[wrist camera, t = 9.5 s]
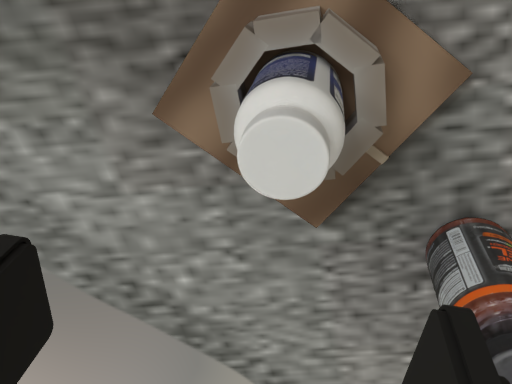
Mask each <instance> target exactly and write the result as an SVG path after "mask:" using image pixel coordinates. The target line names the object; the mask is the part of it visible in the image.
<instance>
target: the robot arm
mask: <svg viewBox="0 0 512 384" xmlns="http://www.w3.org/2000/svg"><path fill="white" fill-rule="evenodd" d="M52 329H53V320H52V315H51V311H50V306H49V302H48V297H47V293H46V289H45V284H44V280H43V275H42V272H41V267H40V262H39V258H38V253H37V249H36V247H35V246H34V245H32V244H31V242H30V240H29V239H28V238H25V237H19V236H12V235H6V234H2V235H0V384H17V382H18V381H19V380H20V378H21V377H22V375H23V374H24V372H25V371H26V370H27V368H28V367H29V366H30V364H31V363H32V361H33V360H34V358H35V357H36V355H37V354H38V353H39V351H40V350H41V349H42V347H43V346H44V344H45V343H46V342H47V340H48V339H49V337H50V335H51V333H52ZM402 384H510V382H509V381H508V380H507V379H506V378H505V377H503V376H500V375H498V372H497V370H496V367H495V365H494V362H493V360H492V357H491V355H490V352H489V350H488V347H487V345H486V342H485V340H484V337H483V334H482V332H481V329H480V327H479V324H478V322H477V319H476V317H475V314H474V313H473V311H472V310H471V309H470V308H464V307H458V306H452V305H445V304H443V305H442V306H441V307H440V308H439V310H435V309H433V310H432V311H431V313H430V315H429V317H428V320H427V322H426V325H425V327H424V330H423V332H422V335H421V337H420V340H419V342H418V345H417V347H416V350H415V352H414V355H413V357H412V360H411V362H410V365H409V367H408V370H407V372H406V375H405V377H404V380H403V382H402Z"/></svg>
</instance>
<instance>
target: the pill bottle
mask: <svg viewBox="0 0 512 384" xmlns="http://www.w3.org/2000/svg"><path fill="white" fill-rule="evenodd" d="M344 139H345V117H344V106H343V96H342V87H341V83H340V80H339V77H338V75H337V73H336V71H335V70H334V68H333V67H332V66H331V64H330V63H329V62H328V61H326V60H325V59H324V58H322V57H321V56H319V55H317V54H315V53H312V52H309V51H304V50H291V51H286V52H283V53H280V54H278V55H276V56H275V57H273V58H271V59H270V60H269V61H268V62H267V63H266V64H265V65H264V66H263V67H262V68H261V70H260V71H259V73H258V75H257V76H256V78H255V80H254V82H253V84H252V86H251V87H250V89H249V91H248V93H247V94H246V96H245V98H244V100H243V101H242V103H241V105H240V108H239V110H238V112H237V115H236V118H235V123H234V140H235V144H236V147H237V161H238V166H239V170H240V172H241V174H242V176H243V178H244V179H245V181H246V182H247V183H248V184H249V185H250V186H251V187H252V188H253V189H254V190H256V191H257V192H259V193H260V194H262V195H264V196H267V197H270V198H273V199H280V200H291V199H297V198H300V197H303V196H305V195H307V194H309V193H311V192H312V191H314V190H315V189H316V188H317V187H318V186H319V185H320V184H321V183H322V182H323V180H324V178H325V177H326V175H327V172H328V170H329V169H330V168H331V167H332V166H333V164H334V163H335V162H336V160H337V159H338V157H339V155H340V153H341V150H342V148H343V144H344Z"/></svg>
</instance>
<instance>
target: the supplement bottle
mask: <svg viewBox="0 0 512 384" xmlns="http://www.w3.org/2000/svg"><path fill="white" fill-rule="evenodd" d="M426 260H427V265H428V269H429V272H430V276H431V279H432V283H433V286H434V290H435V292H436V296H437V299H438V303H439V306H440V307H441V306H442V305H443V304H445V305H452V306H458V307H464V308H470V309H471V310H472V311H473V313H474V314H475V317H476V319H477V322H478V324H479V327H480V329H481V332H482V334H483V337H484V340H485V342H486V345H487V347H488V350H489V352H490V355H491V357H492V360H493V362H494V365H495V367H496V370H497V372H498V375H500V376H503V377H505V378H506V379H507V380H508V381H509V382H510V384H512V239H511V237H510V236H509V235H508V233H507V232H506V231H505V230H504V229H503V228H502V227H500V226H499V225H498V224H496V223H494V222H492V221H490V220H486V219H481V218H463V219H459V220H455V221H453V222H450V223H448V224H446V225H444V226H442V227H441V228H439V229H438V230H437V231H436V232H435V233H434V235H432V237H431V238H430V240H429V242H428V244H427V247H426Z"/></svg>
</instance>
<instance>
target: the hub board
mask: <svg viewBox="0 0 512 384" xmlns="http://www.w3.org/2000/svg"><path fill="white" fill-rule="evenodd" d="M291 50H304V51H309V52H312V53H315V54H317V55H319V56H321V57H322V58H324V59H325V60H326V61H328V62H329V63H330V64H331V66H332V67H333V68H334V70H335V71H336V73H337V75H338V77H339V80H340V83H341V87H342V96H343V106H344V117H345V139H344V144H343V148H342V150H341V153H340V155H339V157H338V159H337V160H336V162H335V163H334V164H333V166H332V167H331V168H330V169H329V170H328V172H327V175H326V177H325V178H324V180H323V182H322V183H321V184H320V185H319V186H318V187H317V188H316V189H315V190H314V191H312V192H311V193H309V194H307V195H305V196H303V197H300V198H297V199H291V200H280V199H275V200H277V201H278V202H280V203H281V204H283V205H284V206H285V207H287V208H288V209H290V210H291V211H293V212H294V213H296V214H297V215H298V216H300V217H301V218H303V219H304V220H306V221H307V222H308V223H310V224H311V225H313V226H314V227H316V228H317V227H318V226H319V225H320V224H321V223H322V222H323V221H324V220H325V219H326V218H327V217H328V216H329V215H330V214H331V213H332V212H333V211H334V210H335V209H336V208H337V207H338V206H339V205H340V204H341V203H342V202H343V201H344V200H345V199H346V198H347V197H348V196H349V195H350V194H351V193H352V192H353V191H354V190H355V189H356V188H357V187H358V186H359V185H360V184H361V183H362V182H363V181H364V180H365V179H366V178H367V177H368V176H370V175H371V174H372V173H373V172H374V171H375V170H376V169H377V168H378V167H379V166H380V165H381V164H383V163H384V162H385V161H386V160H387V159H388V158H389V156H390V155H391V154H392V153H393V152H394V151H395V150H396V149H397V148H398V147H399V146H400V145H401V144H402V143H403V142H404V141H405V140H406V139H407V138H408V137H409V136H410V135H411V134H412V133H413V132H414V131H415V130H416V129H417V128H418V127H419V126H420V125H421V124H422V123H423V122H424V121H425V120H426V119H427V118H428V117H429V116H430V115H431V114H432V113H433V112H434V111H435V110H436V109H437V108H438V107H439V106H440V105H441V104H442V103H443V102H444V101H445V100H446V99H447V98H448V97H449V96H450V95H451V94H452V93H453V92H454V91H455V90H456V89H457V88H458V87H459V86H460V85H461V84H462V83H463V82H464V81H465V80H466V79H467V78H468V77H469V76H470V75H471V74H472V72H471V71H469V70H468V69H467V68H466V67H465V66H464V65H463V64H461V63H460V62H459V61H458V60H457V59H455V58H454V57H453V56H452V55H451V54H449V53H448V52H447V51H446V50H445V49H444V48H442V47H441V46H440V45H439V44H438V43H436V42H435V41H434V40H433V39H432V38H431V37H429V36H428V35H427V34H426V33H425V32H423V31H422V30H421V29H420V28H419V27H417V26H416V25H415V24H414V23H413V22H412V21H410V20H409V19H408V18H407V17H406V16H404V15H403V14H402V13H401V12H400V11H399V10H397V9H396V8H395V7H394V6H393V5H391V4H390V3H389V2H388V1H387V0H220V1H219V3H218V4H217V6H216V8H215V9H214V11H213V13H212V14H211V16H210V18H209V19H208V21H207V23H206V24H205V26H204V28H203V29H202V31H201V33H200V34H199V36H198V38H197V39H196V41H195V43H194V44H193V46H192V48H191V49H190V51H189V53H188V55H187V56H186V58H185V60H184V61H183V63H182V65H181V66H180V68H179V70H178V71H177V73H176V75H175V76H174V78H173V80H172V81H171V83H170V85H169V86H168V88H167V90H166V91H165V93H164V95H163V96H162V98H161V100H160V101H159V103H158V105H157V107H156V108H155V110H154V112H153V113H152V114H153V115H154V116H156V117H157V118H159V119H160V120H162V121H163V122H164V123H166V124H167V125H169V126H170V127H172V128H173V129H175V130H176V131H177V132H179V133H180V134H182V135H183V136H185V137H186V138H188V139H189V140H190V141H192V142H193V143H195V144H196V145H198V146H199V147H200V148H202V149H203V150H205V151H206V152H208V153H209V154H211V155H212V156H213V157H215V158H216V159H218V160H219V161H221V162H222V163H224V164H225V165H226V166H228V167H229V168H231V169H232V170H234V171H235V172H236V173H238V174H239V175H241V176H242V174H241V172H240V170H239V166H238V161H237V147H236V144H235V140H234V123H235V118H236V115H237V112H238V110H239V108H240V105H241V103H242V101H243V100H244V98H245V96H246V94H247V93H248V91H249V89H250V87H251V86H252V84H253V82H254V80H255V78H256V76H257V75H258V73H259V71H260V70H261V68H262V67H263V66H264V65H265V64H266V63H267V62H268V61H269V60H270V59H271V58H273V57H275V56H276V55H278V54H280V53H283V52H286V51H291ZM242 177H243V176H242Z"/></svg>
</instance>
